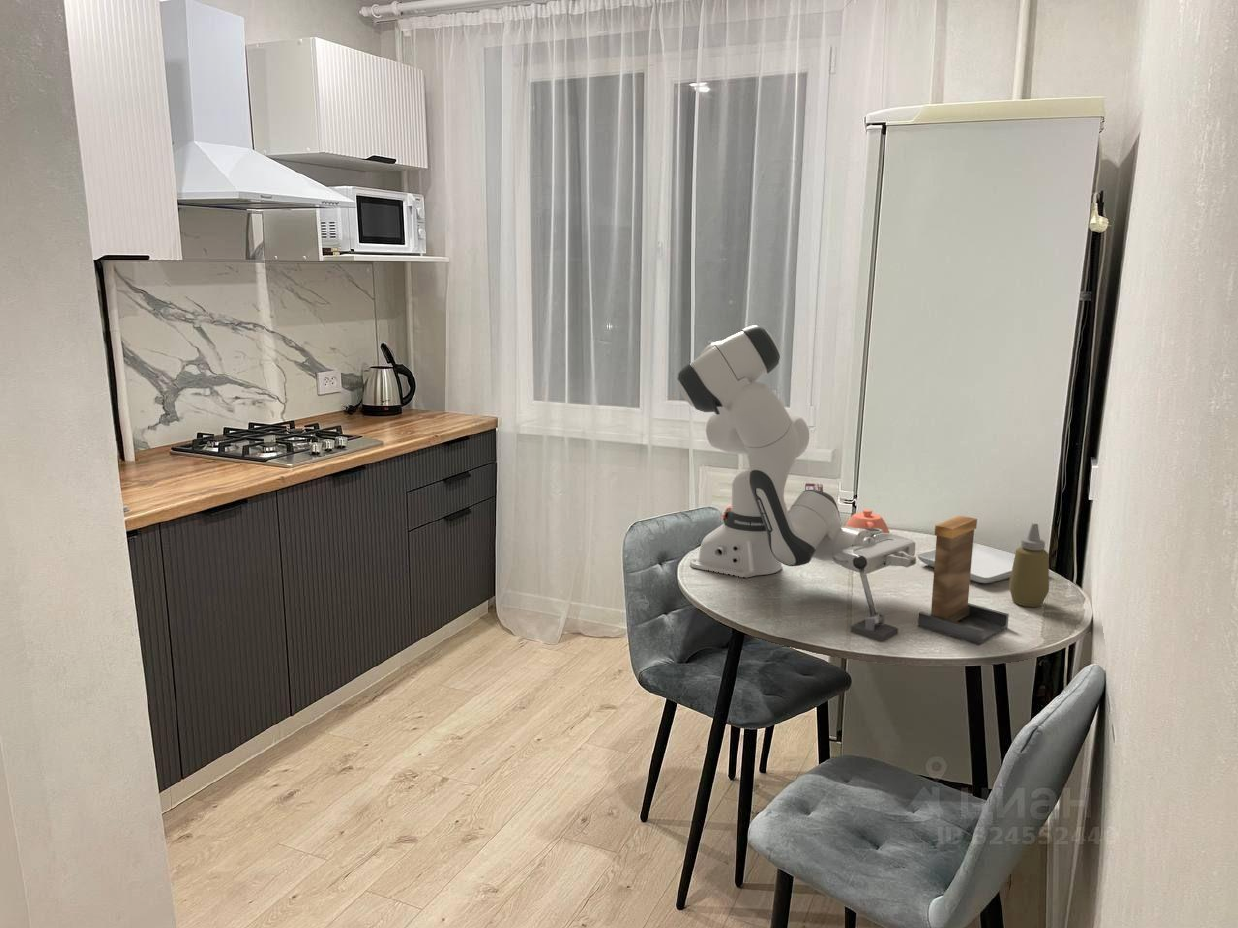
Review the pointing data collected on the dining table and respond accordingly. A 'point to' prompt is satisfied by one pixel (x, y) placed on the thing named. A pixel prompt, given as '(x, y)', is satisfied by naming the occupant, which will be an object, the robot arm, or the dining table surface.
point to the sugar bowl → (867, 521)
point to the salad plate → (982, 563)
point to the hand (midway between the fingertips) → (912, 562)
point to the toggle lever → (866, 587)
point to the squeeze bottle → (1030, 571)
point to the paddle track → (968, 624)
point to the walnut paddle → (953, 568)
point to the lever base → (874, 629)
